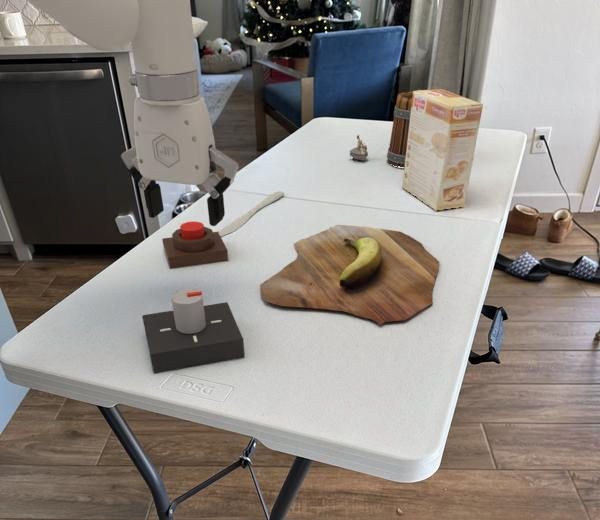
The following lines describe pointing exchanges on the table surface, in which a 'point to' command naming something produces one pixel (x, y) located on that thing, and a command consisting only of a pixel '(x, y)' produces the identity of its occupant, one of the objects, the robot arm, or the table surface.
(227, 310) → the dial panel
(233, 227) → the butter knife
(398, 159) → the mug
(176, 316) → the dial
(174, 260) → the block
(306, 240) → the cutting board
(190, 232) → the power button
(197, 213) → the table surface
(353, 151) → the figurine
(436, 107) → the coffeecake box
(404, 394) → the table surface
